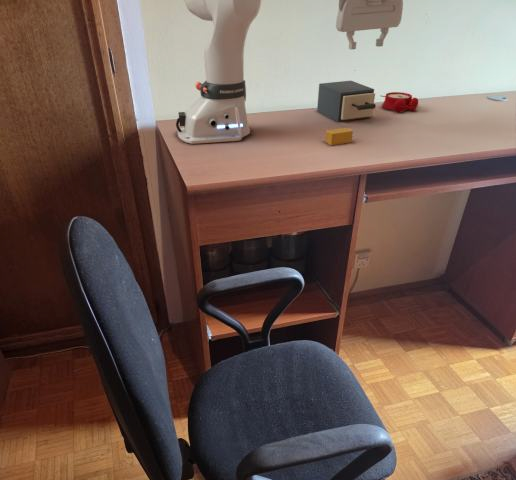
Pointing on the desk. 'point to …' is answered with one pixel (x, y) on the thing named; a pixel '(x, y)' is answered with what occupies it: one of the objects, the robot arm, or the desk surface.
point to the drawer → (357, 105)
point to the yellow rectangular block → (339, 136)
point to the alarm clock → (400, 102)
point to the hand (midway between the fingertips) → (365, 47)
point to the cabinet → (338, 97)
